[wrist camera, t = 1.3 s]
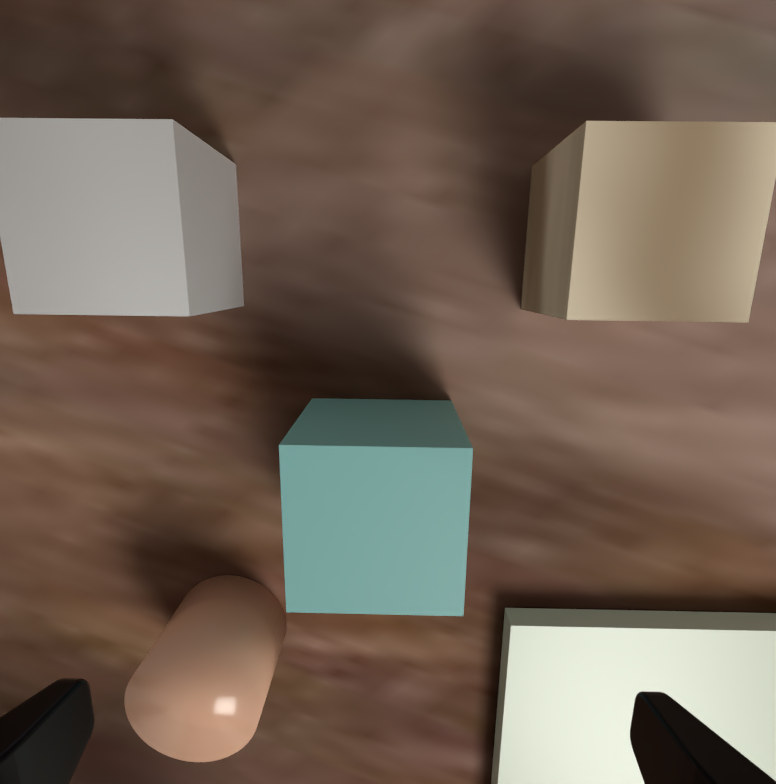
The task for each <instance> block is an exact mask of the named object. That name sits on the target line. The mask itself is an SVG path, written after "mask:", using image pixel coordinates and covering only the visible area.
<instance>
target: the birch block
mask: <svg viewBox="0 0 776 784" xmlns="http://www.w3.org/2000/svg"><path fill="white" fill-rule="evenodd" d="M775 178H776V122H674V121H586V122H584V123H583V124H582V125H581V126H580V127H578V128H577V129H576V130H575V131H574V132H572V133H571V134H570V135H569V136H568V137H566V138H565V139H564V140H563V141H562V142H560V143H559V144H558V145H557V146H556V147H555V148H553V149H552V150H551V151H550V152H549V153H547V154H546V155H545V156H544V157H543V158H541V159H540V160H539V161H538V162H537V163H535V164H534V165H533V166H532V173H531V186H530V199H529V212H528V224H527V237H526V250H525V263H524V276H523V289H522V302H521V309H522V310H527V311H531V312H535V313H539V314H544V315H548V316H552V317H557V318H561V319H565V320H615V321H688V322H748V321H749V316H750V311H751V305H752V300H753V295H754V289H755V284H756V279H757V274H758V268H759V263H760V258H761V252H762V247H763V242H764V236H765V231H766V226H767V221H768V215H769V210H770V205H771V199H772V194H773V189H774V183H775Z"/></svg>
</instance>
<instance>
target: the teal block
mask: <svg viewBox="0 0 776 784" xmlns="http://www.w3.org/2000/svg"><path fill="white" fill-rule="evenodd" d="M472 456H473V447H472V445H471V443H470V441H469V439H468V436H467V434H466V432H465V430H464V428H463V425H462V423H461V421H460V419H459V417H458V414H457V412H456V410H455V408H454V406H453V403H452V401H451V400H389V399H325V398H312V399H311V401H310V402H309V403H308V405H307V406H306V408H305V409H304V410H303V412H302V413H301V415H300V416H299V417H298V419H297V420H296V422H295V423H294V424H293V426H292V427H291V429H290V430H289V431H288V433H287V434H286V436H285V437H284V438H283V440H282V441H281V443H280V444H279V459H280V481H281V504H282V526H283V549H284V571H285V594H286V612H301V613H346V614H391V615H436V616H463V614H464V596H465V579H466V561H467V544H468V526H469V509H470V491H471V474H472Z"/></svg>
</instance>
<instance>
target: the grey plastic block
mask: <svg viewBox="0 0 776 784" xmlns="http://www.w3.org/2000/svg"><path fill="white" fill-rule="evenodd" d="M0 238H1V244H2V250H3V256H4V261H5V267H6V273H7V279H8V284H9V290H10V296H11V302H12V307H13V313H14V314H56V315H129V316H194V315H199V314H205V313H210V312H215V311H221V310H226V309H231V308H237V307H242V306H244V295H243V278H242V261H241V244H240V227H239V210H238V193H237V175H236V164H235V163H233V162H232V161H230V160H229V159H228V158H226V157H225V156H223V155H222V154H221V153H219V152H218V151H216V150H215V149H214V148H212V147H211V146H209V145H208V144H207V143H205V142H204V141H202V140H201V139H200V138H198V137H197V136H195V135H194V134H193V133H191V132H190V131H188V130H187V129H186V128H184V127H183V126H181V125H180V124H179V123H177V122H176V121H174V120H173V119H85V118H0Z"/></svg>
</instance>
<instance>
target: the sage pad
mask: <svg viewBox="0 0 776 784" xmlns="http://www.w3.org/2000/svg"><path fill="white" fill-rule="evenodd" d="M642 691H644V692H663V693H665V694H667V695H669V696H670V697H671V698H673V699H674V700H675V701H676V702H678V703H679V704H680V705H681V706H683V707H684V708H685V709H686V710H688V711H689V712H690V713H691V714H693V715H694V716H695V717H696V718H698V719H699V720H700V721H701V722H703V723H704V724H705V725H706V726H708V727H709V728H710V729H711V730H713V731H714V732H715V733H716V734H718V735H719V736H720V737H721V738H723V739H724V740H725V741H726V742H728V743H729V744H730V745H731V746H733V747H734V748H735V749H736V750H738V751H739V752H740V753H741V754H743V755H744V756H745V757H746V758H748V759H749V760H750V761H751V762H753V763H754V764H755V765H756V766H758V767H759V768H760V769H761V770H763V771H764V772H765V773H766V774H768V775H769V776H770V777H771V778H773V779H774V780H775V781H776V613H743V612H693V611H643V610H594V609H544V608H505V614H504V627H503V639H502V652H501V664H500V677H499V689H498V702H497V715H496V727H495V740H494V752H493V765H492V777H491V784H645V783H644V781H643V778H642V775H641V772H640V769H639V766H638V763H637V761H636V758H635V755H634V752H633V749H632V745H631V741H630V727H631V721H632V714H633V708H634V702H635V698H636V695H637V694H638V693H639V692H642Z"/></svg>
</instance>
